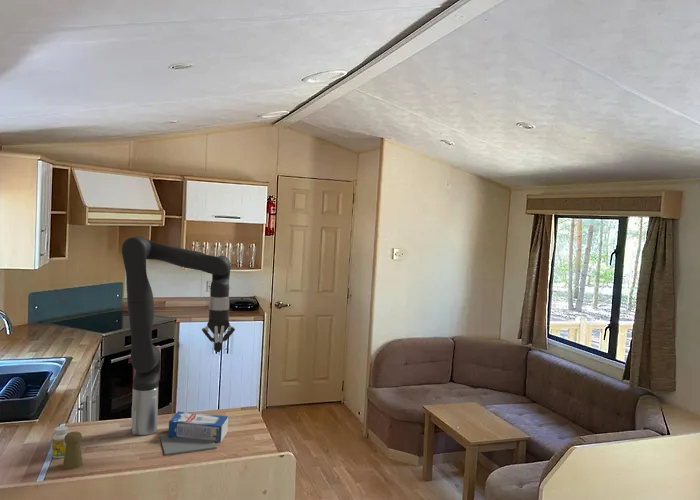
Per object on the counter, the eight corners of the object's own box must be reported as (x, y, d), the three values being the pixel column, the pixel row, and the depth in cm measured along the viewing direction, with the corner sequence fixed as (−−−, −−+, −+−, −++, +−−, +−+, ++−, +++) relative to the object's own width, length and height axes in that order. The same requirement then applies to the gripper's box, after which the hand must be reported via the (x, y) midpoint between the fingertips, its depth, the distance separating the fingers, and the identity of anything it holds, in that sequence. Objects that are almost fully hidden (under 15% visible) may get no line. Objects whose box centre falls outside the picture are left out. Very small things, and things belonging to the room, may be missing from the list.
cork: (86, 461, 186) (86, 429, 186) (77, 469, 180) (78, 437, 180) (67, 460, 186) (68, 429, 185) (59, 469, 180) (59, 436, 179)
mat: (164, 455, 194) (164, 453, 194) (160, 437, 208) (160, 435, 208) (216, 448, 201) (216, 446, 201) (208, 431, 216) (208, 429, 216)
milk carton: (227, 431, 216) (177, 426, 217) (228, 416, 216) (178, 411, 217) (220, 442, 207) (167, 437, 207) (221, 426, 206) (169, 421, 207)
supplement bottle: (73, 453, 191) (73, 426, 191) (60, 460, 186) (60, 432, 186) (61, 450, 193) (62, 423, 193) (48, 456, 188) (48, 429, 188)
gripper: (234, 305, 219) (232, 348, 220) (200, 306, 214) (198, 350, 215) (238, 309, 212) (236, 353, 214) (203, 310, 207) (201, 355, 208)
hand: (217, 351), depth 214 cm, fingers closed
